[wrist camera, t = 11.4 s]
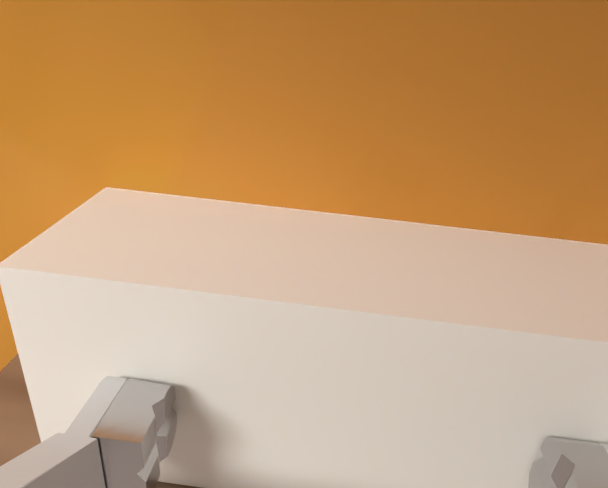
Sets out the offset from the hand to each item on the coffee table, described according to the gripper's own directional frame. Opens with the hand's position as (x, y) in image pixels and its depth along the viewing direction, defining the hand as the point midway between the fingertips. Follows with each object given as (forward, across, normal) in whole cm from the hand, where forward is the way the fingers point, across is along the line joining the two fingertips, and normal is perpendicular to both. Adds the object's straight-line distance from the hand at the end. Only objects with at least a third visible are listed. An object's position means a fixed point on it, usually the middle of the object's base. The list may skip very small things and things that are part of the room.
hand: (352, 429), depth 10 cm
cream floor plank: (+5, -2, 0) cm, 6 cm away
